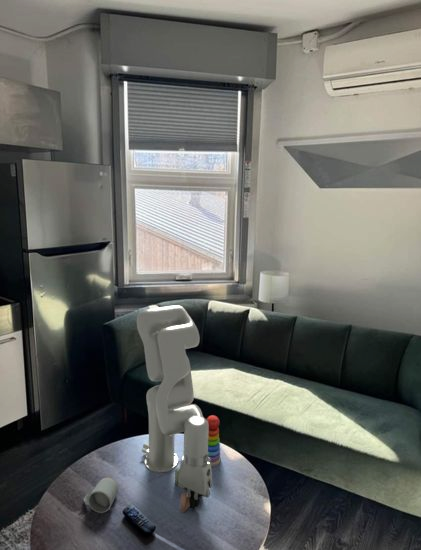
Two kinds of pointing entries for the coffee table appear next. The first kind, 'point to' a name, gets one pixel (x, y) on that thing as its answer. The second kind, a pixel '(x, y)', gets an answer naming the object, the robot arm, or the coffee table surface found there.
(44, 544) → the coffee table surface
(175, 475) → the bar
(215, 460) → the stacking toy
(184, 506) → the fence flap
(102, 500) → the ceramic mug
